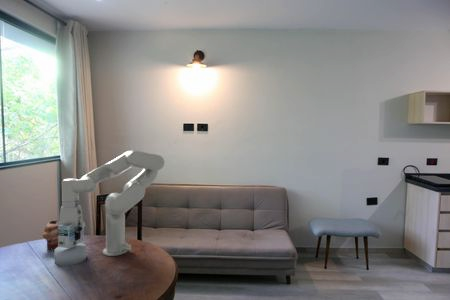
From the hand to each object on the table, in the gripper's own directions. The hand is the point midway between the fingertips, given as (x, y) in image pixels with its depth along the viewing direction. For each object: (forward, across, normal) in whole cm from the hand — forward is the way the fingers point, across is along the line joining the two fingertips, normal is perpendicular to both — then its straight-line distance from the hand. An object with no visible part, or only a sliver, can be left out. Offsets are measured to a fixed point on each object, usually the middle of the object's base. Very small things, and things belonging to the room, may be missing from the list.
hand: (71, 238), depth 144 cm
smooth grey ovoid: (+11, 0, 0) cm, 11 cm away
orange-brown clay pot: (+11, +18, -14) cm, 25 cm away
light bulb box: (+3, 0, 0) cm, 3 cm away
